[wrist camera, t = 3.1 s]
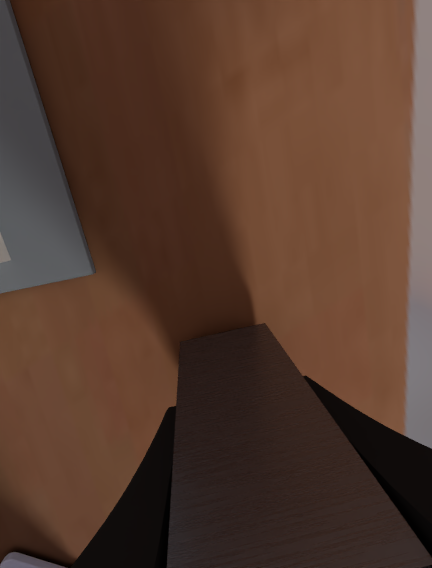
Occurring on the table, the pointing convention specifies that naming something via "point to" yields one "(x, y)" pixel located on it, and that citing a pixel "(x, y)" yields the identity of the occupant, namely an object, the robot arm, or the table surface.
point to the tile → (3, 251)
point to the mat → (32, 179)
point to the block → (271, 469)
